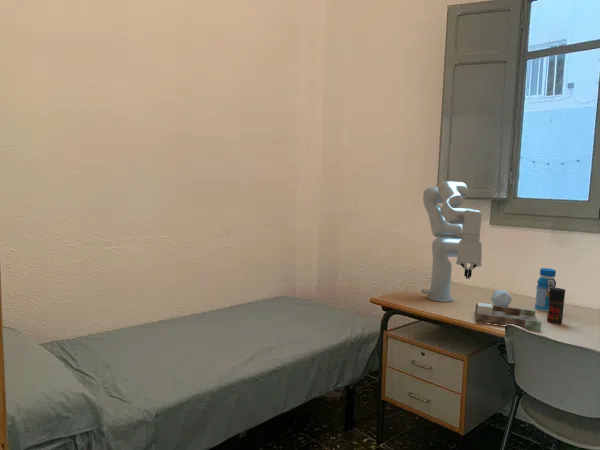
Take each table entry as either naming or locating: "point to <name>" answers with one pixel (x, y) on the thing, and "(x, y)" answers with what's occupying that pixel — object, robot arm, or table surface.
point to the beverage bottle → (544, 288)
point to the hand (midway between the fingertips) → (467, 278)
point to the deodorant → (556, 305)
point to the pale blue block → (485, 308)
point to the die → (501, 298)
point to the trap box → (510, 317)
